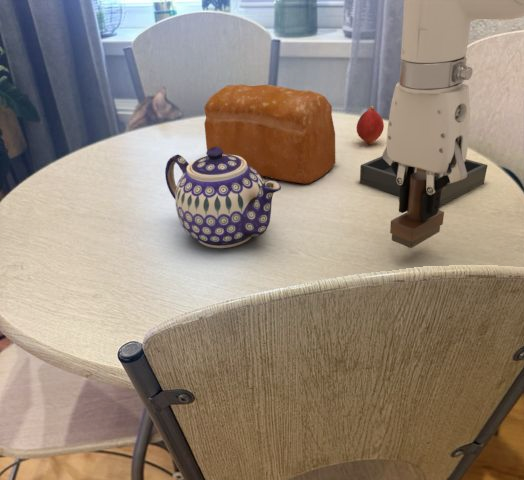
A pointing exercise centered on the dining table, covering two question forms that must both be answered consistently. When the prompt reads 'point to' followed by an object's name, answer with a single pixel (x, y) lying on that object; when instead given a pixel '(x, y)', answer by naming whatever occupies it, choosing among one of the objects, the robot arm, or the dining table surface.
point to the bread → (273, 130)
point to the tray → (385, 178)
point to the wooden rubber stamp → (415, 217)
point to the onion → (370, 126)
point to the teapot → (220, 198)
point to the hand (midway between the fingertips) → (417, 212)
